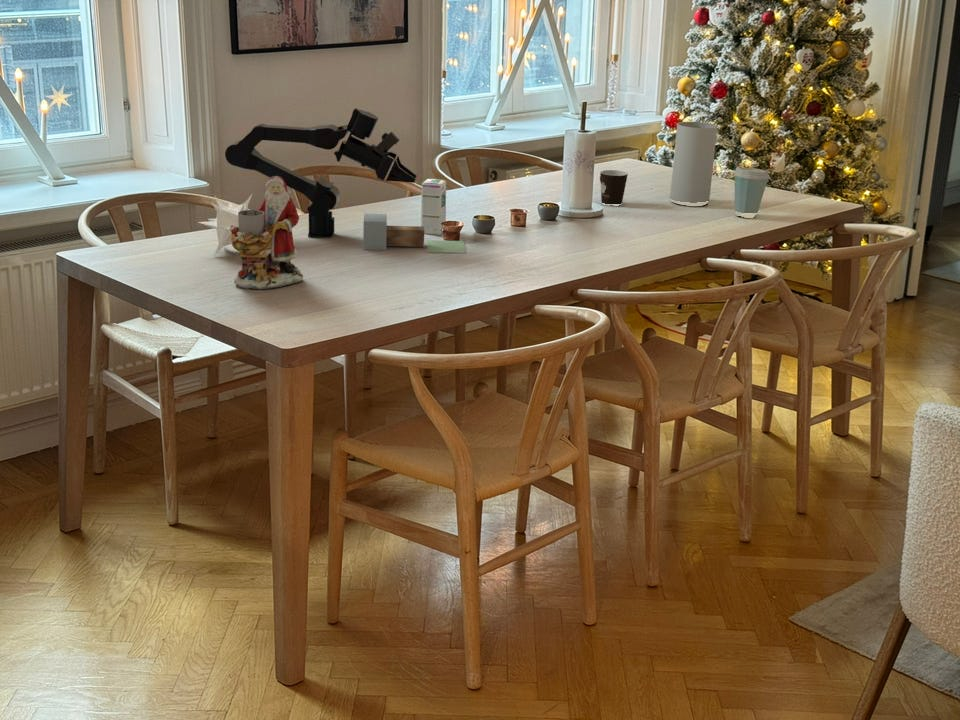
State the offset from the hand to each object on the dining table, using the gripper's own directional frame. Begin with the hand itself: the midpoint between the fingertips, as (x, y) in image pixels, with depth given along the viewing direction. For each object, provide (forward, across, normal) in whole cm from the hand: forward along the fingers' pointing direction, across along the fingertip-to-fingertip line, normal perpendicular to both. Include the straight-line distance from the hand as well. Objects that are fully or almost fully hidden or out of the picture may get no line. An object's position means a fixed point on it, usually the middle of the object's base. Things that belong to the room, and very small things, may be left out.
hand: (415, 179), depth 316 cm
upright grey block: (-2, -6, +20) cm, 21 cm away
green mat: (+15, -5, +12) cm, 20 cm away
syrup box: (+11, +11, +12) cm, 20 cm away
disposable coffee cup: (+97, +44, -30) cm, 111 cm away
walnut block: (+2, -6, +18) cm, 19 cm away
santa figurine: (-22, -42, +33) cm, 58 cm away
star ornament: (-34, -17, +36) cm, 52 cm away
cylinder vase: (+83, +60, -25) cm, 106 cm away
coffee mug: (+60, +56, -14) cm, 83 cm away
